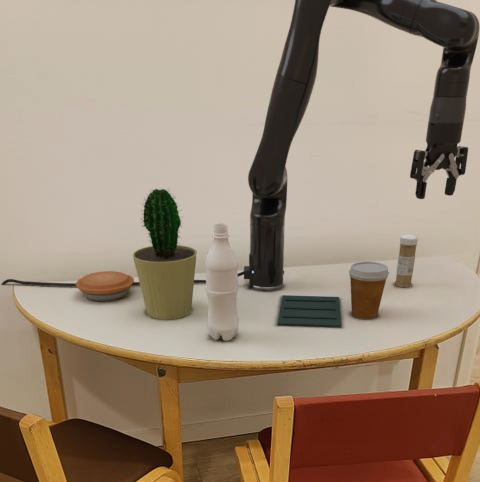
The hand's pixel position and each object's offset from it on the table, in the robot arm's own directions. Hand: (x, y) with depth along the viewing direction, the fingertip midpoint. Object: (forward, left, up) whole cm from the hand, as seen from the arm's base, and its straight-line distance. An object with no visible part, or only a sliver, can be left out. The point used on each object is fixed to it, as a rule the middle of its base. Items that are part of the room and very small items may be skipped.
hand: (434, 196), depth 141 cm
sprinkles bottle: (-2, +15, -27) cm, 31 cm away
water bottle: (-47, -26, -27) cm, 60 cm away
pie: (-83, 0, -27) cm, 87 cm away
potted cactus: (-63, -11, -27) cm, 69 cm away
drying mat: (-28, -8, -26) cm, 39 cm away
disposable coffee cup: (-14, -9, -27) cm, 31 cm away
